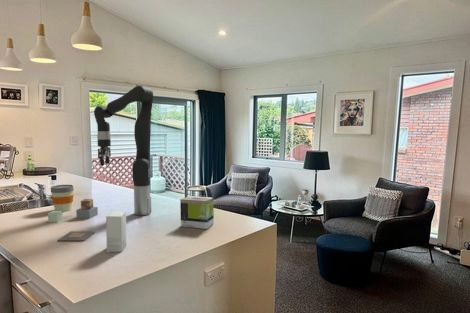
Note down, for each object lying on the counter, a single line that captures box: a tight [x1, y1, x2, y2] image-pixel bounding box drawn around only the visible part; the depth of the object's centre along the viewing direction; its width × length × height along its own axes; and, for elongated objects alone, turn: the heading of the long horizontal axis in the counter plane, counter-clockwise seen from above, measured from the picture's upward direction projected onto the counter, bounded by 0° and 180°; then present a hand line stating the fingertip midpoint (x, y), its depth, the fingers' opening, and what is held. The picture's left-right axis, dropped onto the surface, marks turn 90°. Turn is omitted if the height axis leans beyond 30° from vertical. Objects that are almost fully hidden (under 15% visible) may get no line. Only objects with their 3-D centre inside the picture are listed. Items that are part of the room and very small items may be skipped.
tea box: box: [179, 195, 215, 230], centre depth 166 cm, size 15×10×15 cm
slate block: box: [75, 206, 99, 220], centre depth 182 cm, size 8×8×5 cm
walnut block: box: [80, 198, 94, 210], centre depth 182 cm, size 5×5×5 cm
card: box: [56, 230, 96, 242], centre depth 149 cm, size 12×12×1 cm
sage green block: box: [47, 210, 63, 223], centre depth 174 cm, size 5×5×5 cm
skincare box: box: [105, 210, 127, 253], centre depth 134 cm, size 8×7×16 cm
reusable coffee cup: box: [50, 184, 75, 213], centre depth 195 cm, size 13×13×15 cm
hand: (104, 164), depth 198 cm, fingers open, 8 cm apart
